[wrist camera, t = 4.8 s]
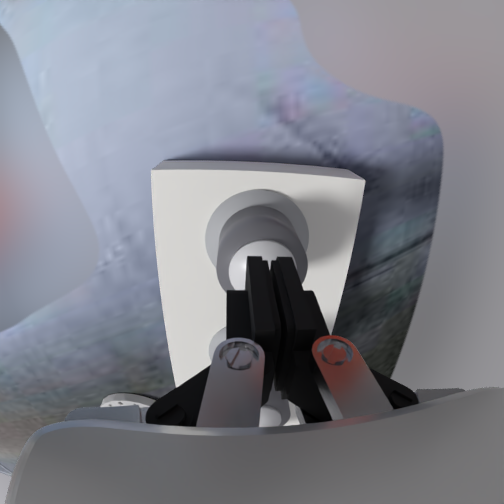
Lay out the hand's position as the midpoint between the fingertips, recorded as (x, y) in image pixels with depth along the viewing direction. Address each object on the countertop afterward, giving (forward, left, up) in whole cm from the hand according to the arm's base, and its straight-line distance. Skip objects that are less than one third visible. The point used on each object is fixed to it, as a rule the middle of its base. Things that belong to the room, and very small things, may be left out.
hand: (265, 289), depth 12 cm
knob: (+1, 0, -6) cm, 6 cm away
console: (+10, 0, -9) cm, 14 cm away
